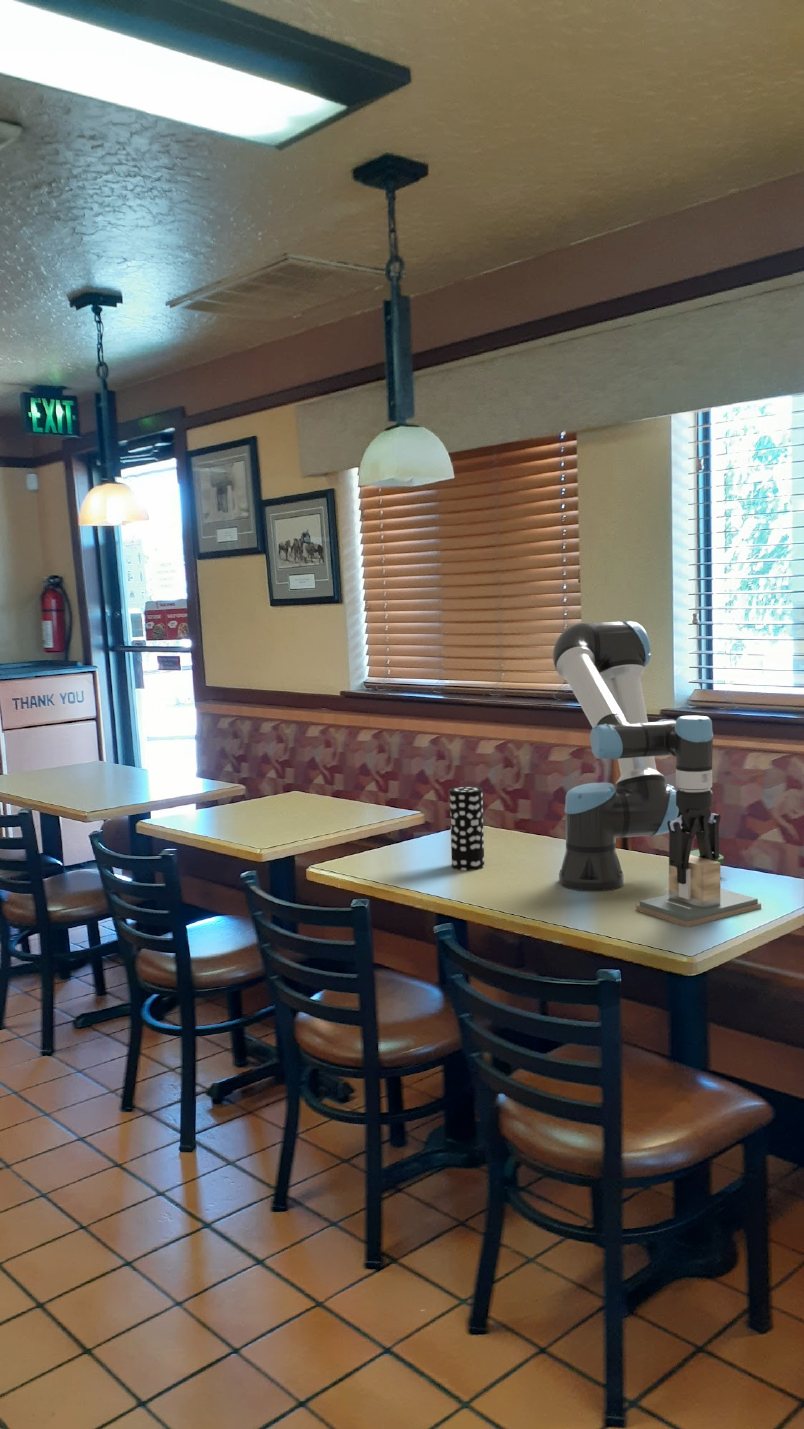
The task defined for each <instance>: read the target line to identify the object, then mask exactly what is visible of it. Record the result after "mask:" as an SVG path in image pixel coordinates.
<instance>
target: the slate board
mask: <svg viewBox="0 0 804 1429" xmlns="http://www.w3.org/2000/svg"><path fill="white" fill-rule="evenodd" d="M720 903H721V904H718V905H714V906H710V907H706V908H702V907H698V906H695V905H692V904H689V903H685V902H682V901H679V900H676V899H672V898H669V893H668V894H665V895H660V896H656V897H653V898H651V897H650V898H648V899H643V900H639V904H637V905H636V908H635V910H636V911H638V912H641V913H644V914H648V915H650V916H653V917H656V918H660V919H661V920H662V919H663V920H665V921H668V922H672V923H675V924H678V925H679V926H680V925H681V926H683V927H686V926H687V928H690V926H691V927H693V926H697V925H702V924H705V923H709V922H712V921H716V920H721V919H724V918H728V917H732V916H736V915H740V914H743V913H744V914H745V913H748V912H751V911H755V910H758V909H762V903H761V902H759V899H758V898H755V897H752V896H749V895H746V894H745V895H744V894H742V893H739V892H736V891H735V892H734V891H731V890H728V889H727V890H726V889H724V888H721V887H720Z"/></svg>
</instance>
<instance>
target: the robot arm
mask: <svg viewBox="0 0 804 1429" xmlns="http://www.w3.org/2000/svg"><path fill="white" fill-rule="evenodd" d="M552 661H553V665H554V668H555V670H556V672H557V674H558V675H559V676H560V677H561V678H562V679H564V680H565V681H567V683H568V685H569V687H570V688H571V691H572V693H573V695H574V696H575V698H576V700H577V701H578V704H579V705H580V707H581V709H582V711H583V712H584V713H583V714H584V715H585V717H586V718H587V720H588V721H589V724H590V725H591V727H592V729H591V731H590V734H589V742H590V747H591V753H592V754H593V756H594V757H596V758H597V759H601V760H603V759H604V760H608V759H609V760H617V761H618V766H619V771H620V772H619V773H620V776H619V778H618V780H616V782H615V785H614V784H613V783H611V782H603V781H601V782H591V783H590V782H589V783H584V784H580V785H577V786H574V787H572V788H571V789H569V790H568V791H567V793H566V795H565V801H564V802H565V804H564V814H565V815H564V816H565V817H564V818H565V821H564V822H565V853H564V857H563V860H562V864H561V869H560V870H559V873H558V882H559V884H560V885H561V886H562V887H564V888H568V889H572V890H576V891H585V892H586V891H591V892H597V891H598V892H599V891H610V890H614V889H617V888H620V887H622V886H623V885H624V883H625V882H624V871H623V870H622V868H621V863H620V860H619V857H618V855H617V851H616V850H617V849H616V845H617V844H616V843H617V842H616V839H617V838H632V837H646V836H650V837H654V836H657V835H658V836H659V835H665V834H668V833H669V836H668V840H669V842H668V846H669V847H668V854H669V855H668V866H669V865H670V866H674V867H676V868H677V882H678V883H679V897H681V898H685V899H688V900H689V899H691V869H688V862H689V857H690V851H692V845H693V840H694V839H695V838H696V843H697V848H698V849H699V853H700V857H701V858H705V859H709V860H713V861H714V860H718V859H719V854H720V822H721V814H717V813H713V812H712V811H711V808H712V807H713V803H714V802H713V799H714V798H713V796H714V795H713V791H712V789H711V788H712V787H713V748H714V746H713V743H714V742H713V741H714V740H713V739H714V732H713V721H712V719H711V718H710V717H709V716H704V715H682V716H678V717H677V719H676V720H675V719H667V718H666V719H663V718H662V719H659V720H657V721H652V722H651V721H649V719H648V715H647V714H648V713H647V709H646V704H645V702H646V701H645V698H644V692H643V687H642V681H641V677H642V676H643V674H644V673H645V672H646V666H647V665H648V664H649V662H650V661H651V641H650V638H649V636H648V633H647V631H646V630H645V628H644V627H643V626H642V625H641V624H639V623H638V622H636V621H625V620H618V621H609V622H608V621H607V622H605V621H603V622H581V623H576V624H573V625H571V626H569V627H567V628H566V629H565V630H564V631H562V632H561V634H560V635H559V637H558V638H557V639H556V641H555V644H554V645H553V650H552ZM662 756H663V757H664V756H665V757H666V756H673V757H675V786H673V785H671V784H668V783H666V778H665V777H666V776H665V775H664V774H662V773H661V772H659V771H658V769H657V764H656V760H655V759H656V758H655V757H662ZM676 788H677V789H676ZM712 852H713V853H712ZM682 862H683V863H682Z"/></svg>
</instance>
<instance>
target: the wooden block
mask: <svg viewBox="0 0 804 1429" xmlns="http://www.w3.org/2000/svg"><path fill="white" fill-rule="evenodd" d="M682 863H683V862H682ZM688 869H691V899H689V900H688V899H685V898H681V897H679V883H678V882H677V868H676V867H674V866H670V865H669V864H668V894H669V898H672V899H676V900H679V901H682V902H685V903H689V904H692V905H695V906H698V907H702V908H706V907H710V906H714V905H718V904H721V903H720V888H721V864H720V862H716V861H713V860H709V859H705V858H701V857H697V856H693V855H690V857H689V862H688Z"/></svg>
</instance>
